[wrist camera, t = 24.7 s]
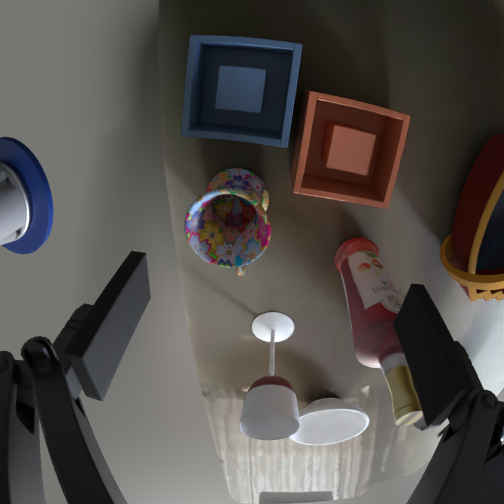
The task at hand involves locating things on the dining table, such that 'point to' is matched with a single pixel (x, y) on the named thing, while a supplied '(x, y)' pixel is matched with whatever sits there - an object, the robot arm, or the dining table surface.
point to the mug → (230, 220)
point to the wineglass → (270, 388)
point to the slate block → (241, 88)
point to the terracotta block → (347, 147)
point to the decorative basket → (480, 227)
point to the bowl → (329, 422)
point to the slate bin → (230, 121)
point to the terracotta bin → (338, 181)
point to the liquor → (377, 322)
